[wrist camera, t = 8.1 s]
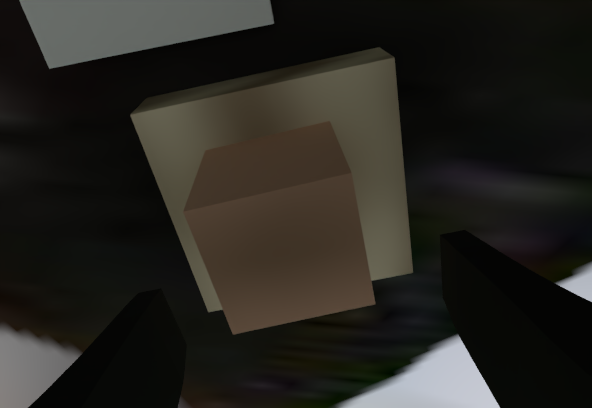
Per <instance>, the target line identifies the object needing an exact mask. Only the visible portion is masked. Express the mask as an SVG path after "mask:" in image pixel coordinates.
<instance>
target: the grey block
mask: <svg viewBox="0 0 592 408" xmlns="http://www.w3.org/2000/svg"><path fill="white" fill-rule="evenodd" d="M19 1H20V3H21V5H22V8H23V10H24V12H25V14H26V17H27V19H28V21H29V23H30V26H31V28H32V30H33V32H34V35H35V37H36V39H37V42H38V44H39V46H40V48H41V51H42V53H43V55H44V57H45V60H46V62H47V64H48V66H49V69H50V68H55V67H60V66H65V65H70V64H75V63H80V62H85V61H90V60H95V59H100V58H105V57H110V56H115V55H120V54H125V53H130V52H135V51H140V50H145V49H150V48H155V47H160V46H165V45H170V44H175V43H180V42H185V41H190V40H195V39H200V38H205V37H210V36H215V35H220V34H225V33H230V32H235V31H240V30H245V29H250V28H255V27H260V26H265V25H270V24H274V18H273V12H272V7H271V2H270V0H19Z"/></svg>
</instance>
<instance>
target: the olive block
mask: <svg viewBox="0 0 592 408" xmlns="http://www.w3.org/2000/svg"><path fill="white" fill-rule="evenodd" d="M130 116H131V118H132V121H133V123H134V126H135V128H136V131H137V133H138V136H139V138H140V141H141V143H142V146H143V148H144V151H145V153H146V156H147V159H148V161H149V164H150V166H151V169H152V171H153V174H154V176H155V179H156V181H157V184H158V186H159V189H160V191H161V194H162V196H163V199H164V201H165V204H166V206H167V209H168V211H169V214H170V216H171V219H172V221H173V224H174V227H175V229H176V232H177V234H178V237H179V239H180V242H181V244H182V247H183V249H184V252H185V254H186V257H187V259H188V262H189V264H190V267H191V269H192V272H193V274H194V277H195V279H196V282H197V284H198V287H199V289H200V292H201V295H202V297H203V300H204V302H205V305H206V307H207V310H208V312H212V311H217V310H222V306H221V304H220V301H219V299H218V296H217V294H216V291H215V289H214V287H213V284H212V282H211V279H210V277H209V274H208V272H207V269H206V267H205V264H204V262H203V260H202V257H201V255H200V252H199V250H198V247H197V245H196V242H195V240H194V237H193V235H192V233H191V230H190V228H189V225H188V223H187V220H186V218H185V215H184V213H183V211H184V208H185V205H186V202H187V200H188V197H189V194H190V191H191V189H192V186H193V183H194V180H195V178H196V175H197V172H198V169H199V166H200V164H201V161H202V158H203V155H204V153H205V150H209V149H213V148H217V147H222V146H226V145H230V144H234V143H238V142H243V141H247V140H251V139H255V138H260V137H264V136H268V135H272V134H276V133H281V132H285V131H289V130H293V129H297V128H302V127H306V126H310V125H314V124H319V123H323V122H327V121H330V123H331V125H332V128H333V130H334V132H335V135H336V137H337V140H338V142H339V144H340V147H341V149H342V151H343V154H344V156H345V158H346V161H347V163H348V166H349V168H350V170H351V173H352V178H353V183H354V189H355V194H356V200H357V205H358V211H359V216H360V222H361V227H362V233H363V238H364V244H365V249H366V255H367V260H368V266H369V271H370V277H371V281H373V280H378V279H383V278H388V277H393V276H399V275H404V274H409V273H413V267H412V256H411V244H410V232H409V221H408V209H407V198H406V186H405V174H404V163H403V151H402V140H401V128H400V116H399V105H398V93H397V82H396V70H395V58H394V57H393V56H391V55H390V54H388V53H387V52H386V51H384V50H383V49H381V48H380V47H378V48H373V49H369V50H364V51H360V52H355V53H350V54H346V55H341V56H337V57H332V58H327V59H323V60H318V61H314V62H309V63H305V64H300V65H295V66H291V67H286V68H282V69H277V70H272V71H268V72H263V73H259V74H254V75H250V76H245V77H240V78H236V79H231V80H227V81H222V82H217V83H213V84H208V85H204V86H199V87H195V88H190V89H185V90H181V91H176V92H172V93H167V94H162V95H158V96H153V97H149V98H146V99H145V100H144V101H143V102H142V103H141V104H140V105H139V106H138V107H137V108H136V109H135V110H134V111H133V112H132V113H131V114H130Z"/></svg>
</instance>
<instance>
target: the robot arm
mask: <svg viewBox="0 0 592 408" xmlns="http://www.w3.org/2000/svg"><path fill="white" fill-rule="evenodd" d="M440 244H441V266H442V289H443V299H444V301H445V304H446V306H447V309H448V311H449V314H450V316H451V319H452V321H453V323H454V326H455V328H456V330H457V333H458V334H459V336H460V338H461V340H462V342H463V343H464V345H465V347H466V349H467V350H468V352H469V354H470V356H471V357H472V359H473V361H474V363H475V364H476V366H477V368H478V370H479V372H480V373H481V375H482V377H483V378H484V380H485V382H486V384H487V385H488V387H489V389H490V391H491V392H492V394H493V396H494V397H495V399H496V401H497V403H498V404H499V406H500V408H592V302H590V301H588V300H586V299H584V298H582V297H580V296H577V295H576V294H574V293H572V292H570V291H568V290H566V289H564V288H562V287H560V286H558V285H557V284H555V283H553V282H551V281H549V280H547V279H545V278H544V277H542V276H540V275H538V274H536V273H535V272H533V271H531V270H529V269H528V268H526V267H524V266H523V265H521V264H519V263H517V262H516V261H514V260H512V259H511V258H509V257H507V256H506V255H504V254H503V253H501V252H499V251H498V250H496V249H495V248H493V247H491V246H490V245H488V244H487V243H485V242H483V241H482V240H480V239H479V238H477V237H475V236H474V235H472V234H470V233H469V232H467V231H465V230H463V231H457V232H452V233H447V234H442V235H440ZM186 346H187V345H186V343H185V340H184V338H183V336H182V334H181V332H180V329H179V327H178V325H177V323H176V320H175V318H174V316H173V314H172V312H171V309H170V307H169V305H168V303H167V300H166V298H165V296H164V294H163V291H162V289H157V290H152V291H147V292H142V293H138V294H137V295H136V296H135V297H134V298H133V299H132V300H131V301H130V302H129V303H128V304H127V305H126V306H125V307H124V309H123V310H122V311H121V312H120V313H119V314H118V315H117V316H116V317H115V318H114V320H113V321H112V322H111V323H110V324H109V325H108V326H107V327H106V328H105V330H104V331H103V332H102V333H101V334H100V335H99V336H98V337H97V338H96V339H95V340H94V342H93V343H92V344H91V345H90V346H89V347H88V348H87V349H86V350H85V351H84V352H83V354H82V355H81V356H80V357H79V358H78V359H77V360H76V361H75V362H74V363H73V364H72V365H71V366H70V367H69V368H68V369H67V370H66V371H65V372H64V373H63V374H62V375H61V376H60V377H59V378H58V379H57V380H56V381H55V382H54V383H53V384H52V386H50V387H49V388H48V389H47V390H46V391H45V392H44V393H43V394H42V395H41V396H40V397H39V398H38V399H37V400H36V401H35V402H34V403H33V404H32V405H30V406H29V407H28V408H178V404H179V399H180V395H181V390H182V385H183V379H184V369H185V358H186Z"/></svg>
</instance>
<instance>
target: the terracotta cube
mask: <svg viewBox="0 0 592 408" xmlns="http://www.w3.org/2000/svg"><path fill="white" fill-rule="evenodd" d="M183 213H184V215H185V218H186V220H187V223H188V225H189V228H190V230H191V233H192V235H193V237H194V240H195V242H196V245H197V247H198V250H199V252H200V255H201V257H202V260H203V262H204V264H205V267H206V269H207V272H208V274H209V277H210V279H211V282H212V284H213V287H214V289H215V291H216V294H217V296H218V299H219V301H220V304H221V306H222V309H223V311H224V313H225V316H226V318H227V321H228V323H229V326H230V328H231V331H232V333H233V334H237V333H242V332H247V331H251V330H256V329H261V328H266V327H270V326H275V325H280V324H284V323H289V322H294V321H298V320H303V319H308V318H313V317H317V316H322V315H327V314H331V313H336V312H341V311H345V310H350V309H355V308H359V307H364V306H369V305H374V304H375V299H374V293H373V288H372V282H371V277H370V271H369V266H368V260H367V255H366V249H365V244H364V238H363V233H362V227H361V222H360V216H359V211H358V205H357V200H356V194H355V189H354V183H353V178H352V173H351V170H350V168H349V166H348V163H347V161H346V158H345V156H344V154H343V151H342V149H341V147H340V144H339V142H338V140H337V137H336V135H335V132H334V130H333V128H332V125H331V123H330V121H327V122H323V123H319V124H314V125H310V126H306V127H302V128H297V129H293V130H289V131H285V132H281V133H276V134H272V135H268V136H264V137H260V138H255V139H251V140H247V141H243V142H238V143H234V144H230V145H226V146H222V147H217V148H213V149H209V150H205V153H204V155H203V158H202V161H201V164H200V166H199V169H198V172H197V175H196V178H195V180H194V183H193V186H192V189H191V191H190V194H189V197H188V200H187V202H186V205H185V208H184V211H183Z"/></svg>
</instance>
